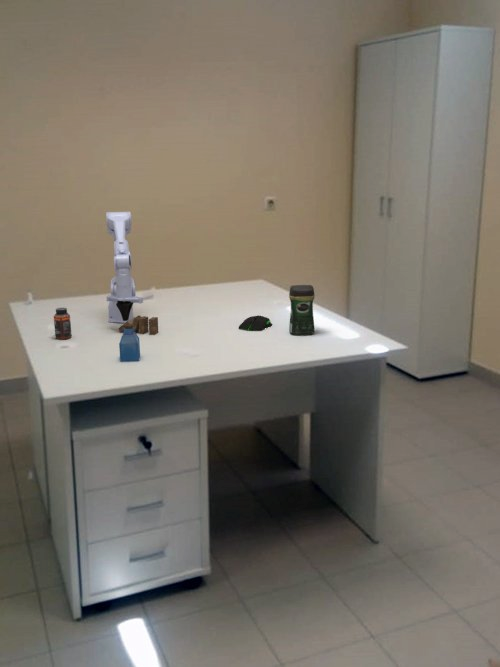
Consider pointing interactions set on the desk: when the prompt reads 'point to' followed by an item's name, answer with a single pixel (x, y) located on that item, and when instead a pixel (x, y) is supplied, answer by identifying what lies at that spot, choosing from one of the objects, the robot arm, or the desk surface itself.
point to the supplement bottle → (62, 324)
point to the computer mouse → (255, 323)
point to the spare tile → (125, 323)
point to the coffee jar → (301, 310)
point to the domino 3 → (153, 325)
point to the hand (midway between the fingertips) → (125, 320)
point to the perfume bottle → (129, 344)
